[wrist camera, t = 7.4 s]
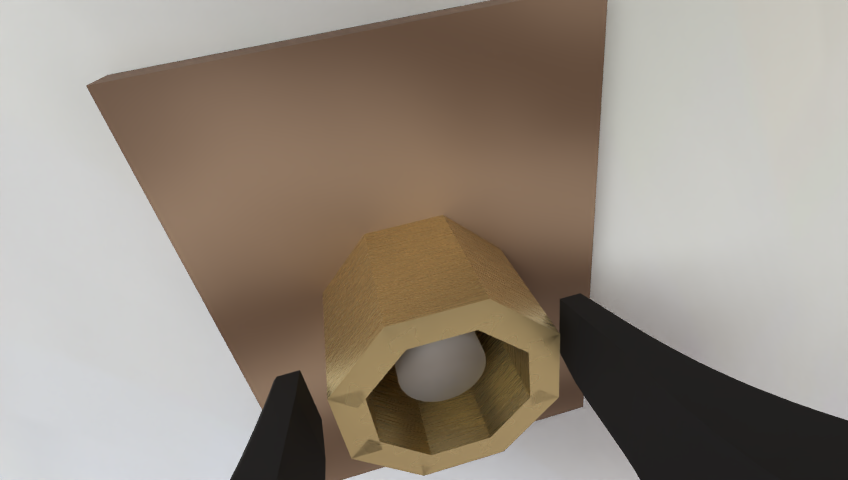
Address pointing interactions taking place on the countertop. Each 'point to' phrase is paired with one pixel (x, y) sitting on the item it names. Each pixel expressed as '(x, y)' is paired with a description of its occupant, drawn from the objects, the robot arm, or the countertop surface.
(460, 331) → the brass collar
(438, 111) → the hub board
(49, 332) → the countertop surface
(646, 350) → the robot arm
